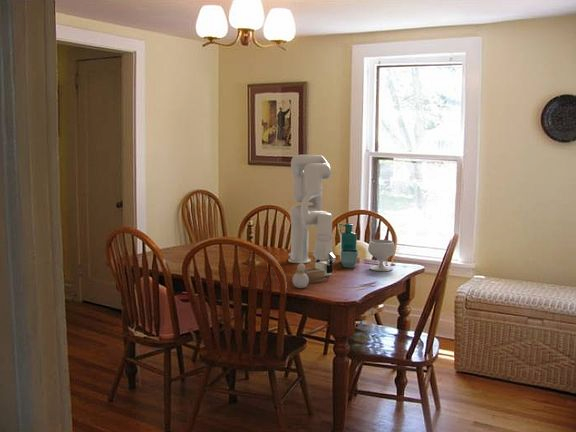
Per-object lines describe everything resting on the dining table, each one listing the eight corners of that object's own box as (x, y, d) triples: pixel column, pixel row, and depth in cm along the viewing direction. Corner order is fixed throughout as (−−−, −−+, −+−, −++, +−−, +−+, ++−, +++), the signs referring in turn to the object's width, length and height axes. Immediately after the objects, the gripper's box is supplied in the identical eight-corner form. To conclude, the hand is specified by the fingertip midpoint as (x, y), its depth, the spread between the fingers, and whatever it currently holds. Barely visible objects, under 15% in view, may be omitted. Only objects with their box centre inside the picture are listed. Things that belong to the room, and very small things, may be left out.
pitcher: (355, 261, 347) (356, 222, 345) (356, 264, 339) (357, 224, 336) (337, 260, 347) (338, 222, 345) (338, 263, 339) (339, 224, 336)
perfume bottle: (304, 285, 286) (304, 259, 285) (313, 289, 278) (314, 263, 276) (289, 286, 283) (289, 260, 282) (298, 291, 275) (299, 264, 273)
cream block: (315, 274, 311) (315, 262, 311) (324, 272, 315) (324, 261, 314) (322, 276, 306) (322, 264, 306) (331, 275, 310) (332, 263, 309)
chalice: (386, 266, 334) (387, 238, 332) (399, 271, 321) (400, 242, 319) (363, 267, 330) (363, 239, 328) (374, 272, 316) (375, 243, 315)
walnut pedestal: (292, 279, 298) (292, 269, 298) (311, 276, 305) (312, 266, 305) (307, 284, 289) (307, 273, 288) (327, 281, 295) (327, 270, 295)
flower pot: (356, 268, 326) (357, 252, 325) (340, 268, 327) (340, 251, 326) (358, 265, 334) (358, 249, 333) (341, 264, 336) (342, 248, 335)
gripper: (307, 235, 313) (307, 269, 315) (329, 240, 299) (328, 275, 301) (319, 234, 318) (318, 267, 319) (341, 239, 303) (340, 273, 305)
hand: (323, 271), depth 310 cm, fingers open, 9 cm apart
